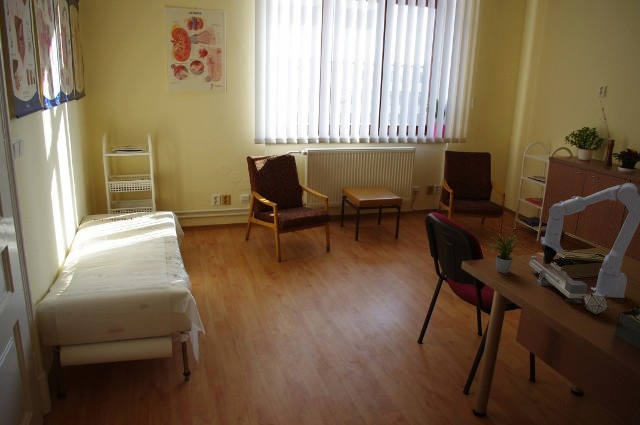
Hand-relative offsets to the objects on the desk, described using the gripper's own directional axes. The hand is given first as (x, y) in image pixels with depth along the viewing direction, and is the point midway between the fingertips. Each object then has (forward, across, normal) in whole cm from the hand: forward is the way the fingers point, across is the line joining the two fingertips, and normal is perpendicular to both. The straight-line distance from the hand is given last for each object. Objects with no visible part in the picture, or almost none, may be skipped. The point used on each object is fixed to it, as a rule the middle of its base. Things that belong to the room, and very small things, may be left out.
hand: (547, 263), depth 206 cm
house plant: (+7, -9, -15) cm, 19 cm away
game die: (+7, +30, +3) cm, 31 cm away
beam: (+4, +8, 0) cm, 9 cm away
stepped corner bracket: (+7, +9, 0) cm, 11 cm away
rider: (+2, -4, 0) cm, 4 cm away
